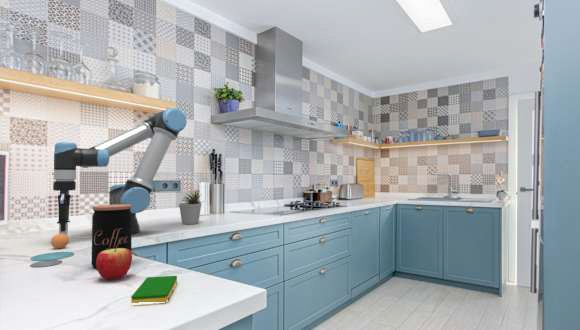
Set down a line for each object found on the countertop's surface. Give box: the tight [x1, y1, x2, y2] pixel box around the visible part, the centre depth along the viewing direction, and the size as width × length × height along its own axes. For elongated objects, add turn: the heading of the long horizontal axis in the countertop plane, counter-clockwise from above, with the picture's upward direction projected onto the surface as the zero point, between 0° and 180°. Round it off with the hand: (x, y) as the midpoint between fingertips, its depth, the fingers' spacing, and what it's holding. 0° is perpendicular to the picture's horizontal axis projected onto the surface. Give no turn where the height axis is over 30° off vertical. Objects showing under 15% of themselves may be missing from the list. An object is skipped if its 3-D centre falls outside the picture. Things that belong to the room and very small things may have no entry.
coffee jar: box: [91, 204, 133, 270], centre depth 100 cm, size 11×11×18 cm
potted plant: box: [178, 189, 205, 226], centre depth 190 cm, size 13×14×20 cm
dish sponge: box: [130, 275, 178, 304], centre depth 75 cm, size 7×14×2 cm, turn 10°
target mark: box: [30, 251, 75, 262], centre depth 112 cm, size 12×12×1 cm
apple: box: [96, 239, 133, 281], centre depth 87 cm, size 8×8×10 cm
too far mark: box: [29, 259, 63, 268], centre depth 102 cm, size 8×8×1 cm
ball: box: [50, 233, 69, 250], centre depth 124 cm, size 6×6×6 cm
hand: (63, 239), depth 132 cm, fingers closed
